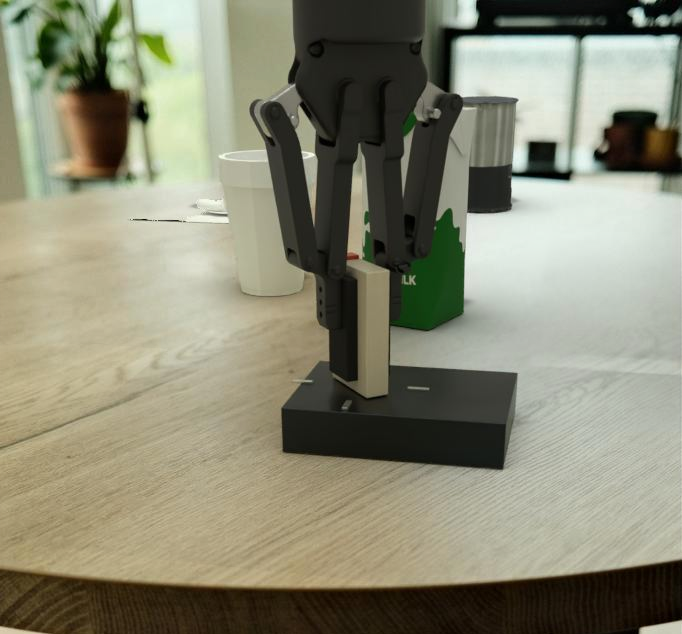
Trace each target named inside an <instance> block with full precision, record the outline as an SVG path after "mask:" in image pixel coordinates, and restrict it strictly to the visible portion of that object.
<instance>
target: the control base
mask: <svg viewBox="0 0 682 634" xmlns="http://www.w3.org/2000/svg"><path fill="white" fill-rule="evenodd" d="M518 375H519V373H518V372H511V371H495V370H479V369H463V368H462V369H460V368H448V367H447V368H446V367H445V368H444V367H429V366H428V367H427V366H413V365H394V364H390V375H388V394H387V395H382V396H377V397H371V398H366V397H364V396H363V395H361V394H359V393H358V392H356V391H355V390H353V389H352V388H350V387H348V386H347V385H345V384H344V383H342V382H341V381H339V380H337V379H336V378H334V377H333V373H332V372H331V371H329V360H326V361H325V360H319V361H318V362H317V363H316V364H315V365H314V367H313V368H312V369H311V371H310V372H308V374H307V376H306V377H304V379H297V378H293V379H292V380H291V384H299V385H298V387H297V388H296V389H295V390H294V392H293V393H292V394H291V395H290V397H289V398H288V399H287V400H286V401H285V402H284V404H283V405H282V406H281V408H280V415H281V444H282V452H283V453H296V454H305V455H319V456H320V455H321V456H331V457H344V458H356V459H369V460H383V461H393V462H394V461H395V462H407V463H408V462H409V463H419V464H420V463H421V464H432V465H445V466H456V467H468V468H469V467H470V468H482V469H484V468H485V469H494V470H495V469H496V470H504V469H505V468H504V467H505V463H506V459H507V454H508V449H509V444H510V439H511V434H512V429H513V425H514V420H515V415H516V404H517V392H518V391H517V389H518V377H519V376H518Z"/></svg>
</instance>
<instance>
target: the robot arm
mask: <svg viewBox="0 0 682 634" xmlns="http://www.w3.org/2000/svg"><path fill="white" fill-rule="evenodd" d="M426 3H427V0H291V4H292V36H293V44H294V57H293V62H292V65H291V67H290V69H289V71H288V75H287V84H286V85H285V86H283V87H281V88H280V89H279V90H277V91H276V92H275V93H273V94H272V95H271V96H269V97H268V98H266V99H262V98H257V99H254V100H253V101H252V102H251V103H250V105H249V109H248V110H249V111H248V112H249V116H250V118H251V120H252V122H253V123H254V125H255V127H256V129H257V130H258V132H259V135H260V136H261V138H262V140H263V142H264V145H265V150H266V151H267V157H268V162H269V168H270V173H271V179H272V184H273V190H274V196H275V201H276V207H277V212H278V218H279V223H280V229H281V234H282V240H283V246H284V251H285V257H286V260H287V262H288V263H289V264H291V265H293V266H295V267H298V268H300V269H302V270H304V271H305V272H306V273H311V274H313V276H314V278H315V302H316V303H315V306H316V309H315V310H316V311H315V312H316V320H317V322H318V325H319V326H320V327H323V328H324V329H326V330H328V356H329V357H328V361H329V371H331V372H332V373H334V374H335V375H337V376H339V377H340V378H342V379H343V380H345V381H346V382H352V381H358V279H356V278H353V277H351V276H349V275H347V274H345V273H346V267H347V253H349V252H348V250H349V237H350V236H349V234H350V221H351V220H350V219H351V207H352V206H351V205H352V192H353V191H352V190H353V176H354V175H353V174H354V173H353V172H354V165H355V163H356V162H357V161H358V157H359V156H358V155H359V145H360V153H361V152H362V154H363V156H364V158H365V168H366V182H367V197H368V211H369V226H370V240H371V254H372V261H373V262H374V264H375V265H377V266H379V267H382V268H384V269H387V270H389V357H388V375H390V365H391V324H390V321H396V320H399V318H400V315H401V309H402V304H401V302H402V298H401V296H402V275H405V274H408V273H409V272H410V270H411V268H412V263H411V262H413V261H415V260H417V259H425V258H427V257H428V256H429V254H430V252H431V248H432V242H433V235H434V229H435V223H436V217H437V211H438V205H439V199H440V192H441V186H442V180H443V174H444V168H445V162H446V155H447V149H448V143H449V137H450V134H451V132H452V130H453V128H454V126H455V123H456V121H457V119H458V117H459V115H460V113H461V111H462V108H463V99H462V97H463V96H461V95H460V94H459V93H453V92H446V91H445V90H443V89H441V88H440V87H439V86H437V85H435V83H432V82H431V81H429V73H428V68H427V66H426V63H425V62H424V59H423V53H422V47H423V46H422V45H423V41H424V38H425V34H426V6H427V5H426ZM416 104H417V106H416V107H415V105H416ZM299 107H300V108H301V110H302V112H303V114H304V115H305V117H306V118H307V120H308V121H309V122H310V124H311V125H312V127H313V128H314V130H315V134H314V135H315V138H314V155H316V160H317V163H316V164H317V165H316V166H317V167H316V185H315V205H314V217H313V213H312V205H311V206H310V200H309V194H308V187H307V181H306V175H305V169H304V163H303V157H302V151H303V150H302V147H301V142H300V138H299V137H298V136H299V135H298V133H297V131H296V129H297V128H298V126H299V125H300V115H299ZM414 107H415V109H414V114H415V115H416V118H417V121H416V124H415V127H414V131H413V136H412V142H411V148H410V155H409V162H408V168H407V175H406V182H405V188H404V195H403V191H402V172H401V158H402V157H403V155H404V134H403V125H404V124H405V122H406V120H407V118H408V117H409V115H410V113H411V112H412V110H413V108H414ZM313 219H314V220H313Z"/></svg>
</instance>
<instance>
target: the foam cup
mask: <svg viewBox="0 0 682 634" xmlns="http://www.w3.org/2000/svg"><path fill="white" fill-rule="evenodd" d="M301 151H302V157H303V163H304V169H305V175H306V181H307V187H308V194H309V200H310V206H311V207H312V204H313V194H314V185H315V182H317V167H316V166H317V165H316V164H317V162H316V160H317V157H316V155H315V153H313V152H310V151H304V150H301ZM217 158H218V159H217V161H218V176H219V177H218V178H219V182H220V185H221V184H222V186H223V191H224V197H225V202H226V208H227V214H228V219H229V223H228V225H229V231H230V237H231V241H232V246H233V252H234V257H235V262H236V269H237V274H238V280H239V284H240V290H241V292H242V293H244V294H247V295H248V296H249V295H250V296H257V297H280V296H291V295H293V294H297V293H299V292H301V291H302V290H303V289H304V287H303V285H304V281H305V272H306V271H304V270H302V269H300V268H298V267H295V266H293V265H291V264H289V263H288V262H287V260H286V257H285V251H284V246H283V240H282V234H281V229H280V223H279V218H278V212H277V207H276V201H275V196H274V190H273V184H272V179H271V173H270V168H269V162H268V157H267V151H266V149H253V150H239V151H231V152H224V153H222V154H218V155H217Z"/></svg>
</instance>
